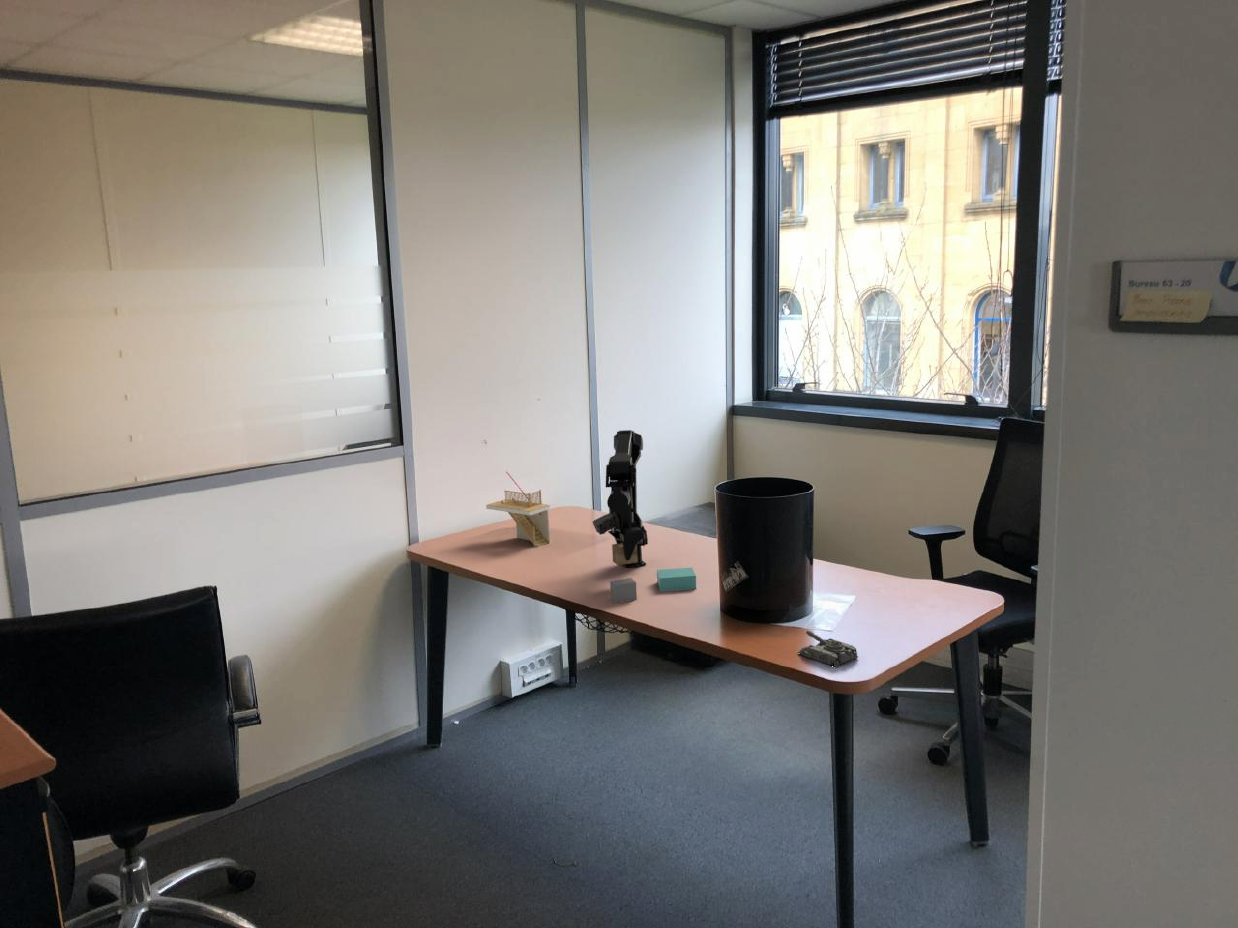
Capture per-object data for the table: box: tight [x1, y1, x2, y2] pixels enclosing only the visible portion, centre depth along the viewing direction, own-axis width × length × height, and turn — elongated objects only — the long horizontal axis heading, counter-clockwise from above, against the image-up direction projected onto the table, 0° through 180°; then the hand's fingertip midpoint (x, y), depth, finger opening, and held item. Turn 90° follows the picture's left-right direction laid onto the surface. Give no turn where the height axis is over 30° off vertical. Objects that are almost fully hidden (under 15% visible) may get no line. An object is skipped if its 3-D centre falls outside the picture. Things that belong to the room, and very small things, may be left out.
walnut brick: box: [611, 543, 638, 566], centre depth 271 cm, size 4×6×5 cm, turn 109°
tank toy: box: [797, 630, 859, 668], centre depth 214 cm, size 12×10×5 cm
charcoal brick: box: [609, 577, 638, 604], centre depth 260 cm, size 4×6×5 cm, turn 109°
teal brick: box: [656, 567, 697, 592], centre depth 269 cm, size 8×10×4 cm
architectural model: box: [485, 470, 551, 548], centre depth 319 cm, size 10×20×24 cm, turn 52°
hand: (625, 558), depth 271 cm, fingers closed on walnut brick, 4 cm apart
